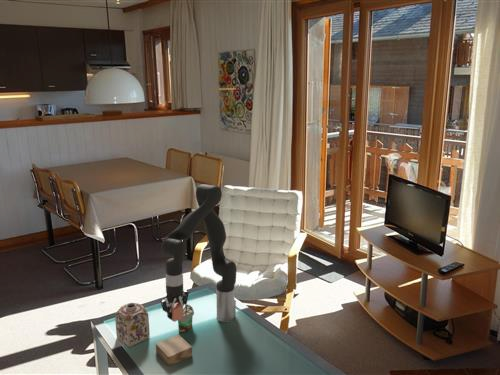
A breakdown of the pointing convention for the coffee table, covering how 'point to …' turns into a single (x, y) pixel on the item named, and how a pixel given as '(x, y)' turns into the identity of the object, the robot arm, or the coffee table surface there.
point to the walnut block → (173, 350)
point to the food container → (186, 319)
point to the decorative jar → (132, 324)
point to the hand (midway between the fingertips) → (175, 315)
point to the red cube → (177, 312)
